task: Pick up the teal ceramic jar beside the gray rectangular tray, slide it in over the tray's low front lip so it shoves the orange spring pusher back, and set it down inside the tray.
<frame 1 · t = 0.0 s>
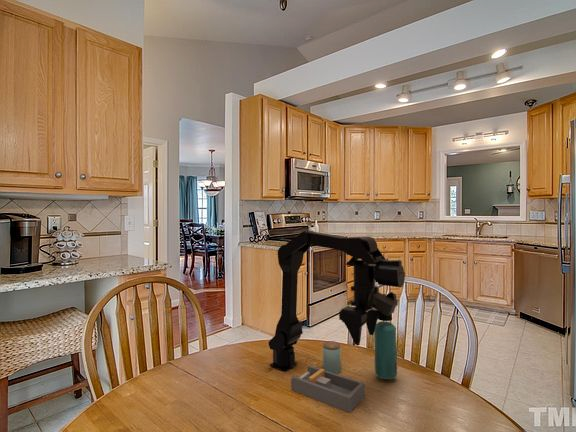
hand: (364, 339, 90), 15 cm above the table, tool pointing down, fingers open, 9 cm apart
beverage bottle: (385, 379, 97), on the table
pusher: (321, 381, 91), point 3 cm above the table, slide at 0.0 cm
jar: (331, 369, 104), on the table
gray rectangular tray: (333, 395, 89), on the table
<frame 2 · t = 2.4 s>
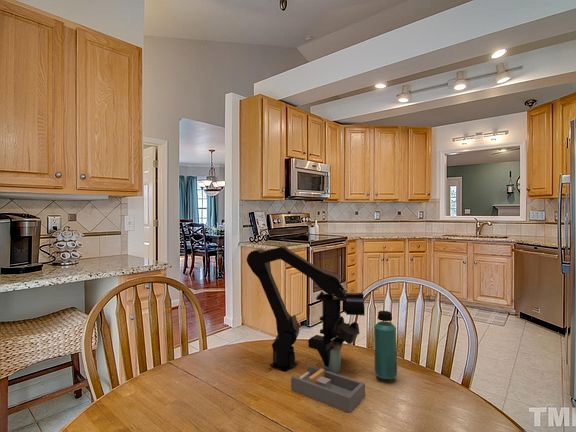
hand: (331, 362, 104), 2 cm above the table, tool pointing down, fingers closed on jar, 6 cm apart
jar: (331, 369, 104), on the table, touching gripper
everything else where it was.
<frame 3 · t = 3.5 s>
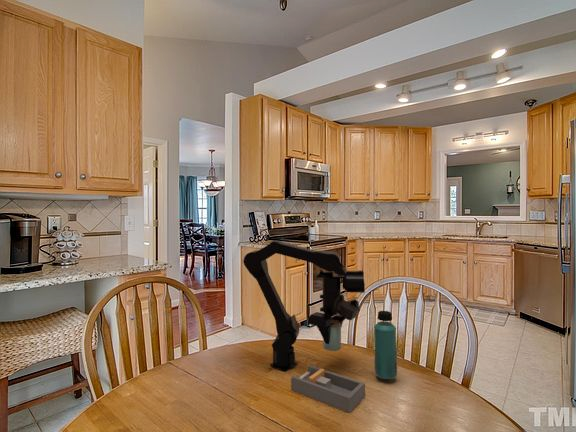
hand: (332, 340, 104), 9 cm above the table, tool pointing down, fingers closed on jar, 6 cm apart
jar: (332, 347, 104), point 7 cm above the table, touching gripper
everything else where it was.
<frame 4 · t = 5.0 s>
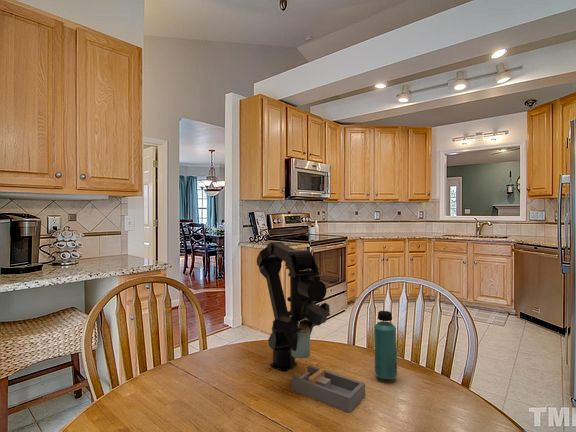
hand: (300, 347, 95), 10 cm above the table, tool pointing down, fingers closed on jar, 6 cm apart
jar: (300, 354, 95), point 8 cm above the table, touching gripper
everything else where it was.
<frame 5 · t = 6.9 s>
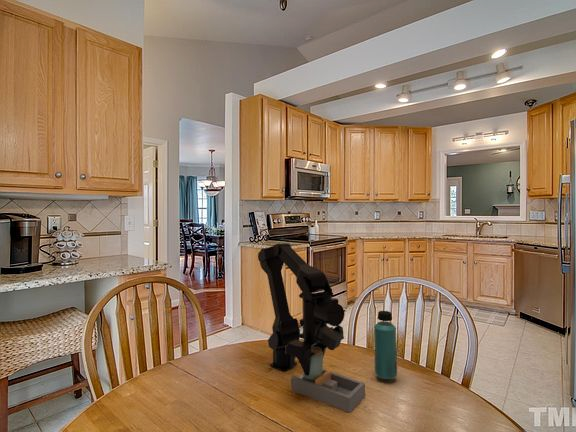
hand: (312, 371, 93), 5 cm above the table, tool pointing down, fingers closed on jar, 6 cm apart
pusher: (328, 383, 90), point 3 cm above the table, slide at 2.1 cm
jar: (313, 378, 93), point 3 cm above the table, touching gripper
everything else where it was.
when the fingers open (4 cm above the table, at t = 7.5 s): jar moves 1 cm, resting on gray rectangular tray, pusher.
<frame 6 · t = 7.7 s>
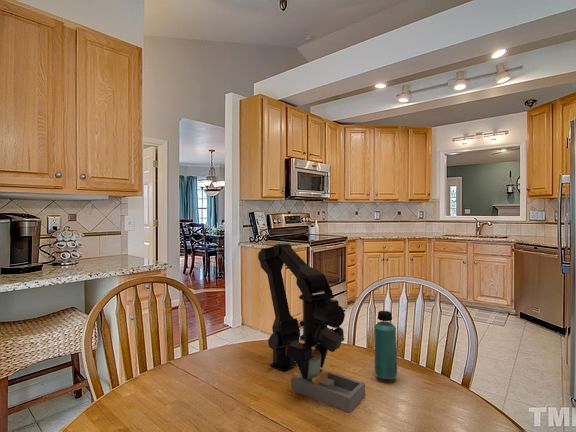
hand: (313, 372, 93), 4 cm above the table, tool pointing down, fingers open, 8 cm apart
pusher: (324, 382, 90), point 3 cm above the table, slide at 1.1 cm, touching jar
jar: (309, 379, 94), point 2 cm above the table, tilted 7°, touching gray rectangular tray, pusher
everything else where it was.
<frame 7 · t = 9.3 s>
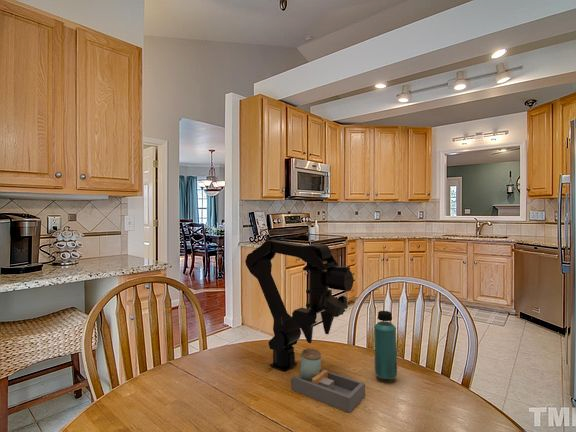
hand: (318, 338, 98), 12 cm above the table, tool pointing down, fingers open, 9 cm apart
nothing on the table moved.
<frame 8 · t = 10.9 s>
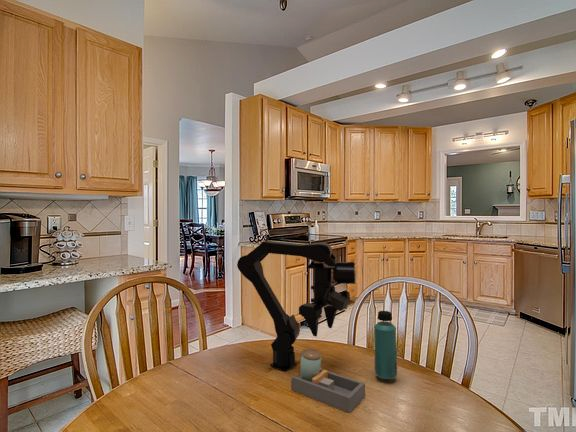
hand: (322, 331, 104), 12 cm above the table, tool pointing down, fingers open, 9 cm apart
nothing on the table moved.
at the end: jar 2.1 cm from the target spot on the gray rectangular tray, point 1.8 cm above the gray rectangular tray's base; pusher slide at 1.1 cm; jar tilted 7° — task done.
